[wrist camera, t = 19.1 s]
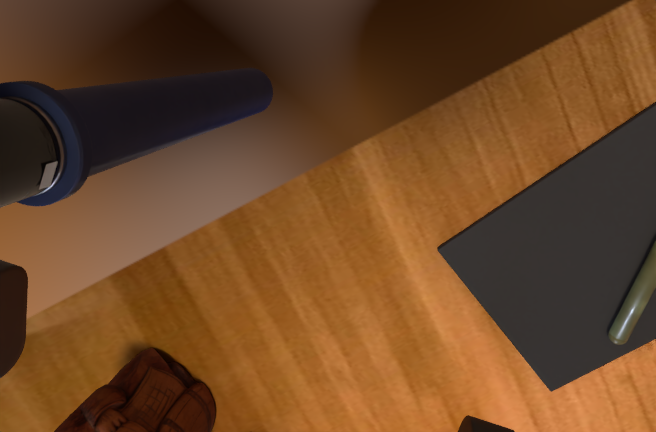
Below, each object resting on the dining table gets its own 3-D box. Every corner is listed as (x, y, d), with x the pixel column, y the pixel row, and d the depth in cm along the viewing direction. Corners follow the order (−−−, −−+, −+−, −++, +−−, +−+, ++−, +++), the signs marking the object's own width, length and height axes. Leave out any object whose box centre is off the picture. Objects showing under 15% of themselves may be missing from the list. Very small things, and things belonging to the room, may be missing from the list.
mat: (549, 387, 45) (551, 391, 45) (437, 247, 43) (437, 250, 43) (884, 217, 36) (891, 220, 36) (760, 31, 34) (766, 31, 34)
